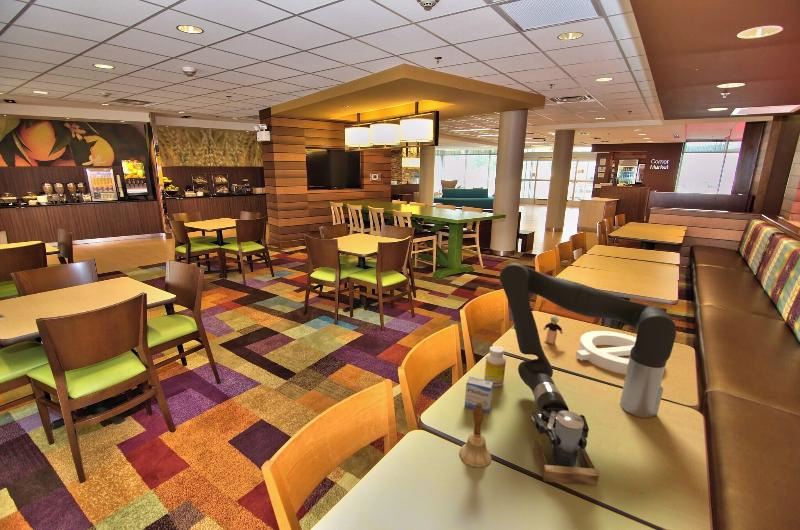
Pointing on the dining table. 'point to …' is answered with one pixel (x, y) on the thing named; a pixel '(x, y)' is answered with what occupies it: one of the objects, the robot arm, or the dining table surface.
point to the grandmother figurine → (552, 330)
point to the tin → (567, 438)
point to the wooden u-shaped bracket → (567, 469)
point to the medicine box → (478, 393)
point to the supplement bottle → (495, 366)
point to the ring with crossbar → (606, 350)
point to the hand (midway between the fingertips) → (570, 445)
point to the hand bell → (476, 443)
